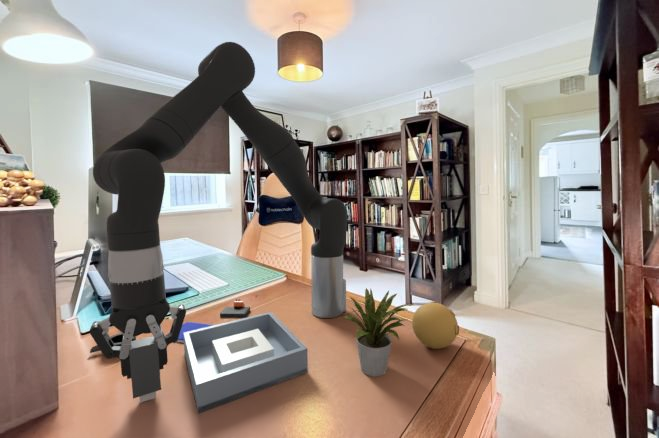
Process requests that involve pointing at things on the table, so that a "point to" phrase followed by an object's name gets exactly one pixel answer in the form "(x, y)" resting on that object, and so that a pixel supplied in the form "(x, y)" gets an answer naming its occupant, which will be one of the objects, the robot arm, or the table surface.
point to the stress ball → (435, 325)
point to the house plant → (375, 333)
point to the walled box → (241, 358)
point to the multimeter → (236, 310)
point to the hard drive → (190, 329)
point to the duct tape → (116, 340)
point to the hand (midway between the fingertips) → (145, 371)
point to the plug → (144, 368)
